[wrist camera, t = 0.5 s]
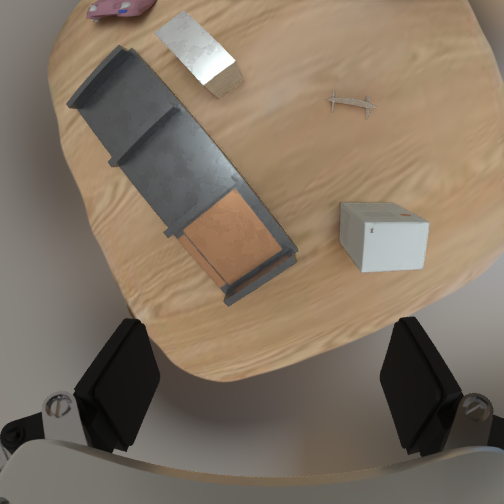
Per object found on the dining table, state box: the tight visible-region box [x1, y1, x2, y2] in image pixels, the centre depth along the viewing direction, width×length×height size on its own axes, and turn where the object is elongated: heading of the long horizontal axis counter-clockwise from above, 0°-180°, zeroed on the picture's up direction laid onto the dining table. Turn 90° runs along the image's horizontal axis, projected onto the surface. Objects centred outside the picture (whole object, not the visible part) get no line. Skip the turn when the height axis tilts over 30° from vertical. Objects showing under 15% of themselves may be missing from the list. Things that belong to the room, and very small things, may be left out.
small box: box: [339, 202, 430, 273], centre depth 32 cm, size 8×6×10 cm
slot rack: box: [66, 45, 298, 307], centre depth 34 cm, size 12×37×4 cm, turn 38°
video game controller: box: [86, 0, 156, 22], centre depth 25 cm, size 10×5×7 cm, turn 73°
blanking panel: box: [154, 11, 244, 99], centre depth 26 cm, size 4×9×9 cm, turn 38°
